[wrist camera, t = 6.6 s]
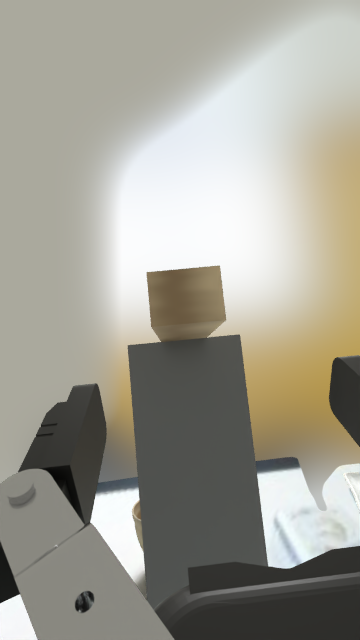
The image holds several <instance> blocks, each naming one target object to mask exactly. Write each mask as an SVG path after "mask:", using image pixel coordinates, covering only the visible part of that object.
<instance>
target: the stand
mask: <svg viewBox="0 0 360 640" xmlns="http://www.w3.org/2000/svg"><path fill="white" fill-rule="evenodd" d="M128 355H129V368H130V381H131V394H132V407H133V420H134V433H135V444H136V445H135V446H136V458H137V472H138V485H139V498H140V511H141V524H142V537H143V550H144V563H145V576H146V589H147V601H148V603H149V604H150V606H151V607H152V608H153V610H154V609H155V608H156V607H157V605H158V604H160V603H161V602H162V601H163V600H165V599H166V598H167V597H168V596H170V595H171V594H173V593H175V592H176V591H178V590H179V589H182V588H184V587H186V586H188V585H189V577H188V568H189V567H197V566H205V565H213V564H221V563H229V562H241V563H248V564H254V565H261V566H268V562H267V553H266V545H265V537H264V529H263V521H262V512H261V504H260V496H259V488H258V479H257V471H256V463H255V455H254V447H253V439H252V430H251V422H250V413H249V405H248V397H247V389H246V382H245V381H246V380H245V373H244V364H243V356H242V348H241V340H240V335H229V336H219V337H209V338H199V339H188V340H178V341H168V342H157V343H147V344H138V345H128Z"/></svg>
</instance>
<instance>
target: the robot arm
mask: <svg viewBox="0 0 360 640" xmlns="http://www.w3.org/2000/svg"><path fill="white" fill-rule="evenodd" d="M329 394H330V395H329V402H330V406H331V409H332V411H333V414H334V415H335V416H336V418H337V419H338V420H339V422H340V423H341V424H342V425H343V426H344V428H345V429H346V430H347V431H348V433H349V434H350V435H351V437H352V438H353V439H354V440H355V442H356V443H357V444H358V445H359V447H360V356H359V355H357V356H348V357H337V358H335V359H334V361H333V364H332V373H331V383H330V393H329ZM105 443H106V421H105V416H104V411H103V406H102V401H101V396H100V391H99V387H98V385H97V384H96V383H95V384H86V385H76V386H73V388H72V390H71V392H70V395H69V397H68V400H67V402H60V403H57V404H56V405H55V406H54V407H53V408H52V409H51V410H50V411H49V412H47V413H46V416H45V418H44V420H43V422H42V424H41V427H40V428H39V430H38V432H37V434H36V437H35V438H34V440H33V442H32V444H31V446H30V449H29V451H28V453H27V455H26V457H25V459H24V461H23V463H22V465H21V467H20V469H19V471H18V473H16V474H14V475H12V476H11V477H9V478H7V479H6V480H5V481H3V482H2V483H1V484H0V603H2V602H4V601H6V600H8V599H10V598H12V597H14V596H17V595H19V594H20V595H21V597H22V600H23V602H24V605H25V608H26V610H27V613H28V615H29V618H30V621H31V623H32V626H33V628H34V631H35V634H36V636H37V639H38V640H360V546H356V547H348V548H340V549H332V550H330V551H328V552H326V553H324V554H321V555H319V556H317V557H315V558H313V559H310V560H308V561H306V562H304V563H302V564H300V565H297V566H295V567H293V568H290V569H282V568H275V567H268V566H261V565H254V564H248V563H241V562H229V563H221V564H213V565H205V566H197V567H189V568H188V577H189V585H188V586H186V587H184V588H182V589H179V590H178V591H176V592H175V593H173V594H171V595H170V596H168V597H167V598H166V599H165V600H163V601H162V602H161V603H160V604H158V605H157V607H156V608H155V609H154V610H153V608H152V607H151V606H150V604H149V603H148V601H147V600H146V599H145V597H144V596H143V594H142V593H141V591H140V590H139V589H138V587H137V586H136V584H135V583H134V582H133V580H132V579H131V577H130V576H129V574H128V573H127V572H126V570H125V569H124V567H123V566H122V565H121V563H120V562H119V560H118V559H117V557H116V556H115V555H114V553H113V552H112V550H111V549H110V548H109V546H108V545H107V543H106V542H105V540H104V539H103V538H102V536H101V535H100V533H99V532H98V531H97V529H96V528H95V527H94V526H93V525H92V524H91V523H90V520H91V515H92V510H93V505H94V499H95V494H96V489H97V484H98V479H99V474H100V468H101V464H102V458H103V453H104V448H105Z"/></svg>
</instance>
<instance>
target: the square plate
mask: <svg viewBox="0 0 360 640" xmlns="http://www.w3.org/2000/svg"><path fill="white" fill-rule="evenodd" d="M343 476H344V478H345V480H346V481H347V483H348V485H349V487H350V489H351V491H352V493H353V496H354V498H355V501H356V503H357V506H358V509H359V512H360V472H352V473H344V474H343Z"/></svg>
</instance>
